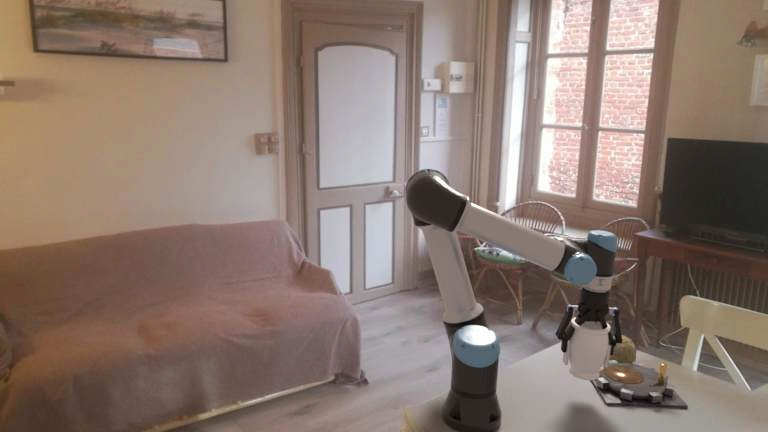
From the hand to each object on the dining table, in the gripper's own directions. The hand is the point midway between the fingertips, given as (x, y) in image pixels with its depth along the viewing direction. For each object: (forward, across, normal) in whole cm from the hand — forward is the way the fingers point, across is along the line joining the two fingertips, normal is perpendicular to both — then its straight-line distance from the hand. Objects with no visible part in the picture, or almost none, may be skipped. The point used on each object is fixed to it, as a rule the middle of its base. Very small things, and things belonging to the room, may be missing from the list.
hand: (585, 363), depth 164 cm
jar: (+3, 0, 0) cm, 3 cm away
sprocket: (+8, +17, +7) cm, 20 cm away
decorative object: (+10, +20, +25) cm, 33 cm away
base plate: (+10, +17, +7) cm, 21 cm away
